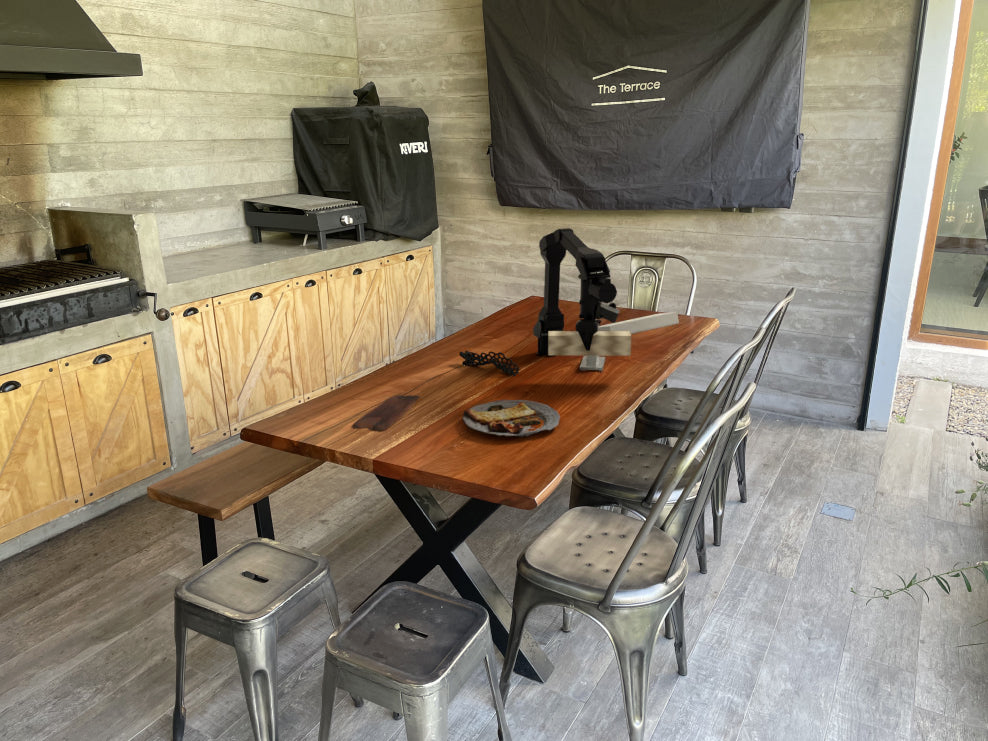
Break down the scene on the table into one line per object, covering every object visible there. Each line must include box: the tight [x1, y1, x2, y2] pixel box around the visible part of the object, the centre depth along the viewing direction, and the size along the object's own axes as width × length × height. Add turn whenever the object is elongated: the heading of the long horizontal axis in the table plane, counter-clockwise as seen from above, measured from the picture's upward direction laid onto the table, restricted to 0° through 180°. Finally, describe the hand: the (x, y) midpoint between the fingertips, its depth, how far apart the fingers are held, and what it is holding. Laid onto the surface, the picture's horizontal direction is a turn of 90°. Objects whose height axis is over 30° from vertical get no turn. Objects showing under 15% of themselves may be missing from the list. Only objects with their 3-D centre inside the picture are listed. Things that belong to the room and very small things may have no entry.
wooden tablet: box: [352, 394, 421, 432], centre depth 202 cm, size 26×2×10 cm
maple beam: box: [548, 330, 632, 357], centre depth 222 cm, size 24×5×6 cm, turn 86°
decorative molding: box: [598, 311, 680, 335], centre depth 280 cm, size 34×5×10 cm
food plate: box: [461, 399, 561, 438], centre depth 193 cm, size 25×23×4 cm
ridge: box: [579, 355, 606, 372], centre depth 237 cm, size 7×12×5 cm, turn 167°
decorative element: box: [459, 350, 521, 377], centre depth 235 cm, size 22×5×6 cm, turn 53°
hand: (589, 347), depth 222 cm, fingers closed on maple beam, 5 cm apart
